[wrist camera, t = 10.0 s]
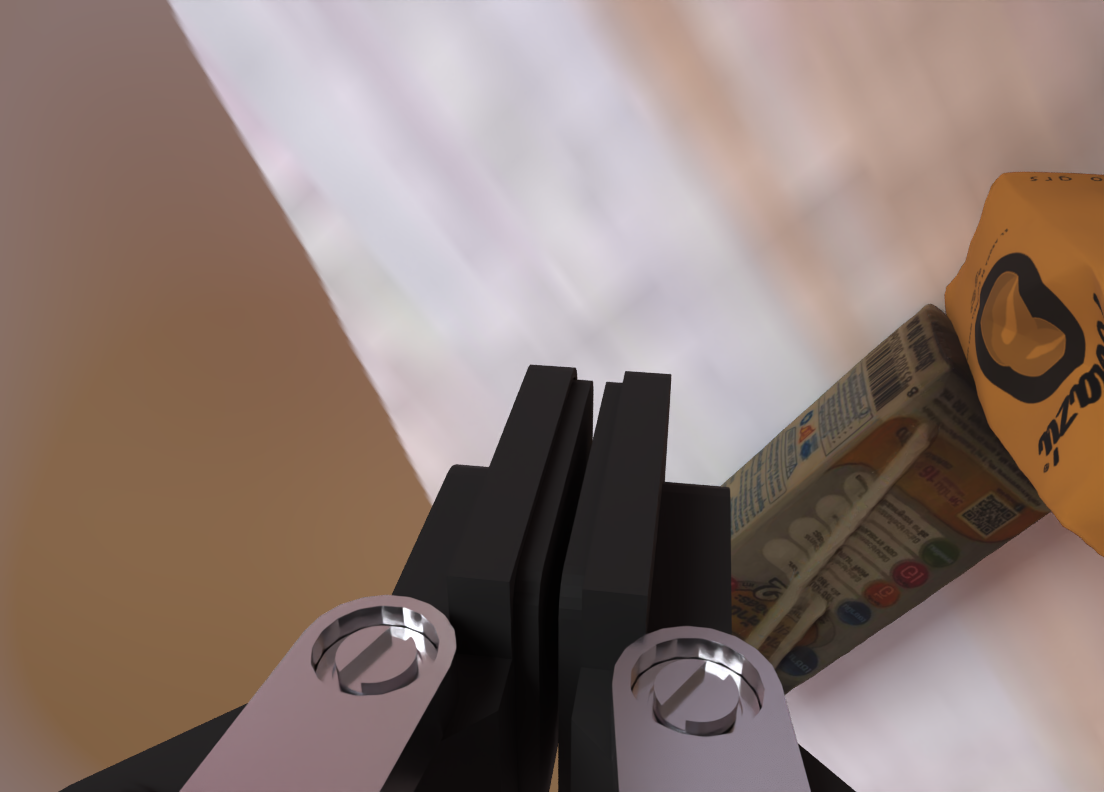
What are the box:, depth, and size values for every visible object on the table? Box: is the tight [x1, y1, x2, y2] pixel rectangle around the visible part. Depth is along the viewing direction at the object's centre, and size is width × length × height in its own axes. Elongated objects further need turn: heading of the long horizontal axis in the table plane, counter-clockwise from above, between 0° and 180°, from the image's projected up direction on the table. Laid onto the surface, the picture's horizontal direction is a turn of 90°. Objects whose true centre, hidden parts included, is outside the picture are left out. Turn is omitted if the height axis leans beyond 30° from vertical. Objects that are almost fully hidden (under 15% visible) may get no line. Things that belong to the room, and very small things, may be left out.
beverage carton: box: [720, 304, 1051, 695], centre depth 42 cm, size 8×19×7 cm, turn 143°
